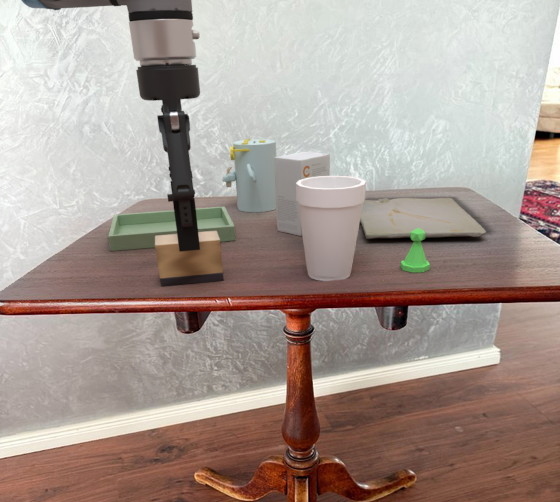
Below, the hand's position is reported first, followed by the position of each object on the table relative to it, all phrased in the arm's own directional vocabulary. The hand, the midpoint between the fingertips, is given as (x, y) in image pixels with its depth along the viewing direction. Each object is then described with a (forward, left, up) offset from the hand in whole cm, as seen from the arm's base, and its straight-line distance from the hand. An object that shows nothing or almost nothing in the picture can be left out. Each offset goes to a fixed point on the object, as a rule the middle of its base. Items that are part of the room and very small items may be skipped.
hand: (187, 236), depth 77 cm
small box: (+22, +21, -6) cm, 31 cm away
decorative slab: (+43, +19, -6) cm, 47 cm away
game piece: (+33, -5, -6) cm, 34 cm away
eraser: (0, 0, -6) cm, 6 cm away
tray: (-2, +25, -6) cm, 26 cm away
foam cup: (+20, -4, -6) cm, 21 cm away
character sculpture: (+15, +41, -6) cm, 44 cm away
